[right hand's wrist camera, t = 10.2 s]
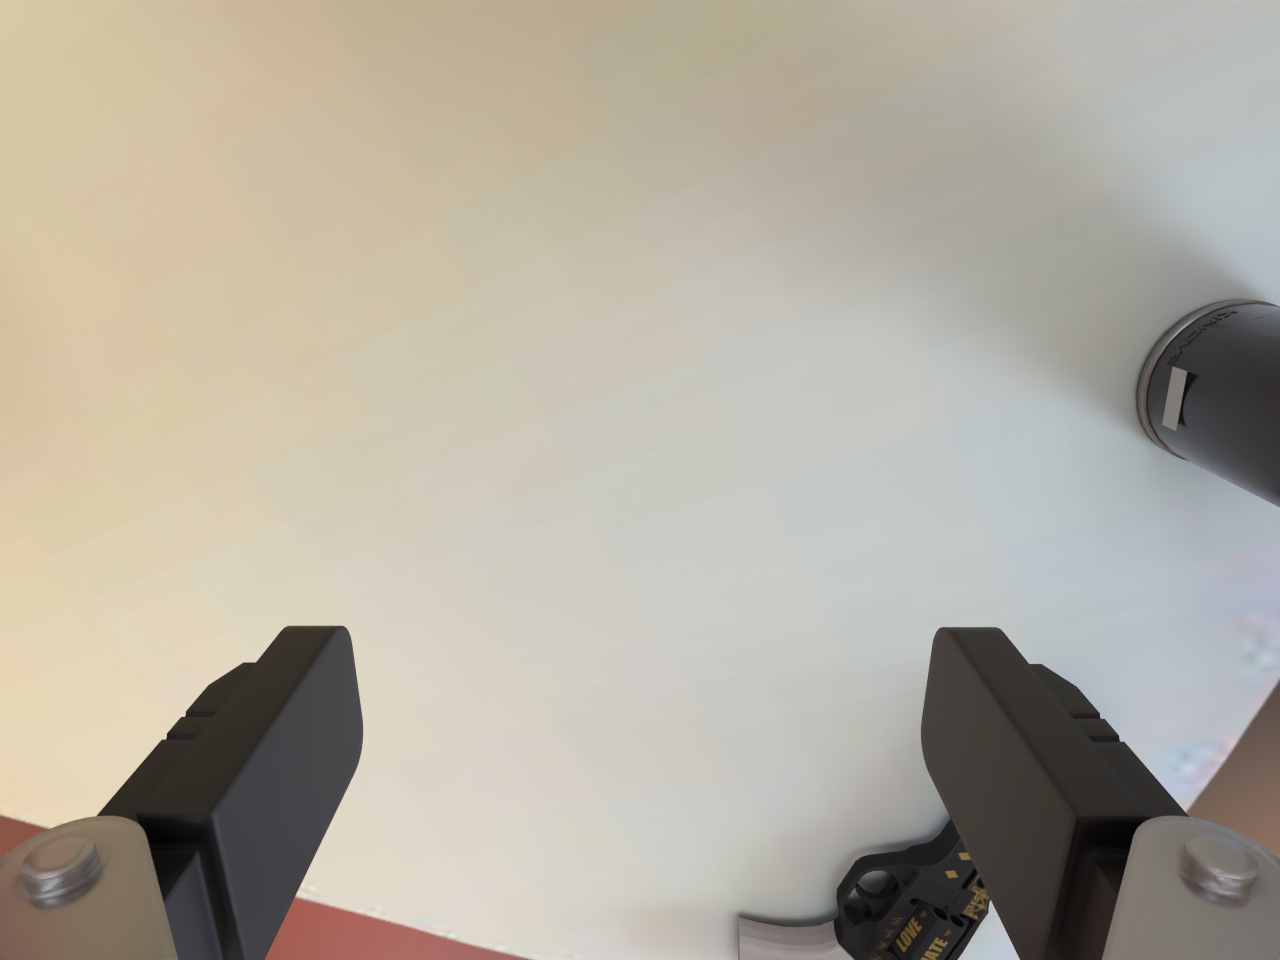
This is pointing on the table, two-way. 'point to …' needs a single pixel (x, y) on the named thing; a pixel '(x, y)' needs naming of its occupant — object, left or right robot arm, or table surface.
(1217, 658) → the table surface
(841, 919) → the decorative firearm
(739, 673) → the table surface
